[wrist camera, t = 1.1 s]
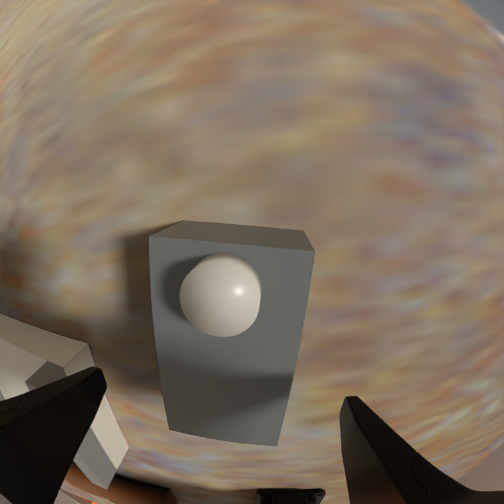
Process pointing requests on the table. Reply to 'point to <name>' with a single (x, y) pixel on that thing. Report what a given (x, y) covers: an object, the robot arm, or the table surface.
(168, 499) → the sunglasses case
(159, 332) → the grey knobbed block
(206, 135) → the table surface
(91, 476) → the stand
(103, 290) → the table surface
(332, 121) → the table surface
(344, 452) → the robot arm
